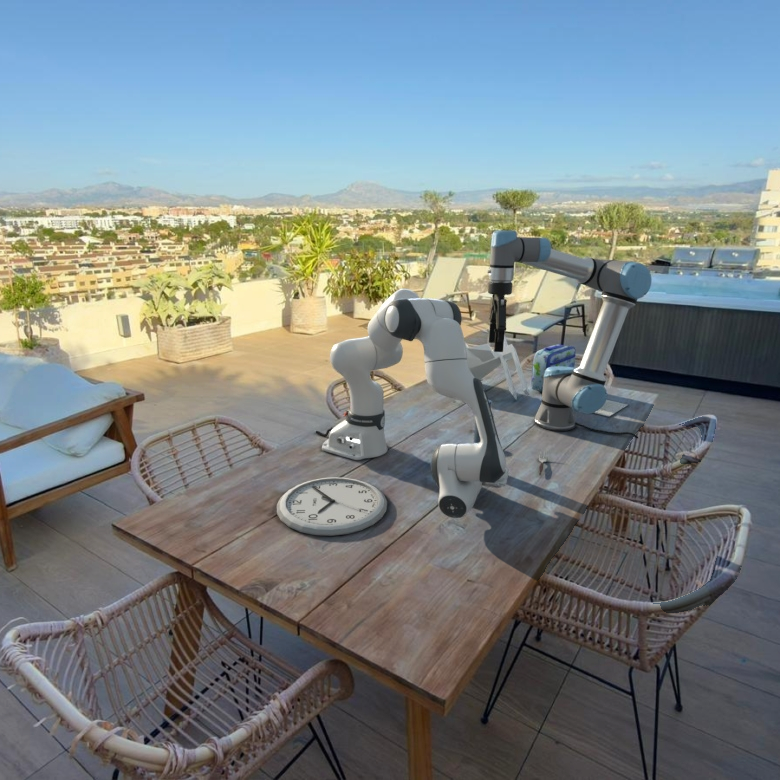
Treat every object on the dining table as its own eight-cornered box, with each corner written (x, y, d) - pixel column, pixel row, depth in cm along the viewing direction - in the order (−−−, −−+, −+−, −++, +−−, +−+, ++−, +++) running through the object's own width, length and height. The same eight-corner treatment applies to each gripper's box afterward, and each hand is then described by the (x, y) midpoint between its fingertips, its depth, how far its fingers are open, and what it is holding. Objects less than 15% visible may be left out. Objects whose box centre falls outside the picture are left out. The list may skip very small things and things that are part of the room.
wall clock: (392, 527, 129) (268, 531, 127) (391, 533, 130) (269, 537, 127) (383, 473, 158) (282, 475, 155) (383, 478, 158) (282, 480, 156)
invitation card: (608, 416, 214) (573, 407, 224) (608, 416, 214) (573, 408, 224) (628, 404, 229) (594, 396, 238) (628, 405, 229) (594, 397, 238)
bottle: (475, 474, 162) (480, 404, 156) (469, 466, 168) (474, 398, 161) (492, 472, 164) (498, 403, 157) (485, 465, 169) (490, 397, 162)
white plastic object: (461, 429, 252) (437, 405, 227) (444, 352, 274) (420, 323, 250) (535, 404, 240) (518, 377, 215) (510, 326, 262) (492, 293, 237)
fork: (535, 475, 162) (535, 469, 161) (539, 455, 176) (540, 450, 175) (543, 477, 161) (544, 471, 160) (547, 456, 175) (548, 451, 175)
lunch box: (547, 397, 237) (552, 352, 231) (526, 391, 245) (531, 348, 238) (574, 386, 255) (580, 344, 249) (554, 381, 262) (559, 340, 256)
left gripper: (505, 476, 139) (513, 456, 151) (431, 464, 145) (444, 445, 158) (503, 497, 140) (511, 476, 153) (430, 484, 147) (443, 464, 160)
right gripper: (484, 277, 177) (479, 338, 184) (494, 285, 154) (488, 355, 160) (506, 277, 177) (501, 339, 183) (519, 285, 153) (513, 356, 160)
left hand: (476, 460), depth 155 cm, fingers open, 8 cm apart
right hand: (495, 347), depth 172 cm, fingers open, 13 cm apart
